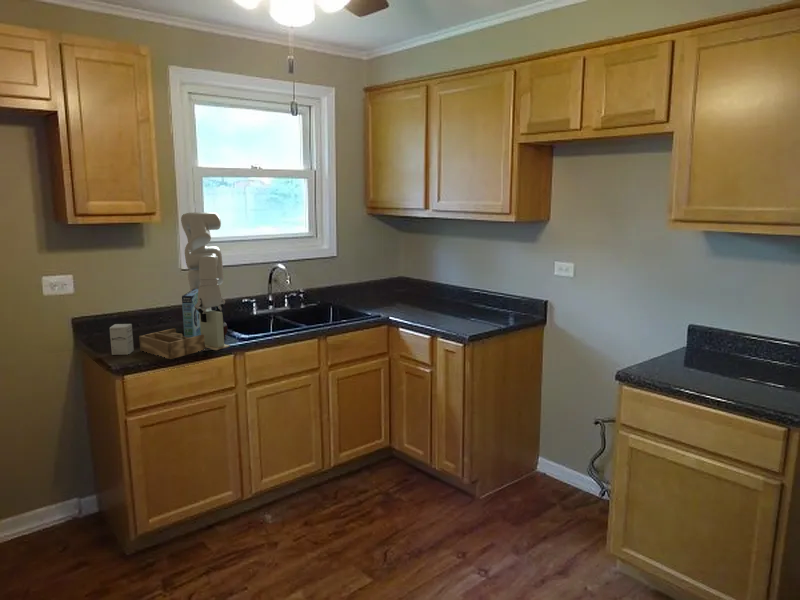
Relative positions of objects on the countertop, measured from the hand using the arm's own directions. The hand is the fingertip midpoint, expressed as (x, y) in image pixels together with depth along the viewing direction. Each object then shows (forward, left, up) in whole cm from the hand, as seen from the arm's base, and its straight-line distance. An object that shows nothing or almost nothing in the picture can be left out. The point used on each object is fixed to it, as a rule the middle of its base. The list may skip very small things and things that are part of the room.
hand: (211, 320), depth 272 cm
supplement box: (+30, -24, -13) cm, 40 cm away
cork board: (0, 0, -12) cm, 12 cm away
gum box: (-5, -20, -13) cm, 24 cm away
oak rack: (+15, -9, -12) cm, 21 cm away
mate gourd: (-11, -9, -13) cm, 19 cm away
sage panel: (0, 0, -12) cm, 12 cm away
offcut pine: (+11, -13, -9) cm, 20 cm away
